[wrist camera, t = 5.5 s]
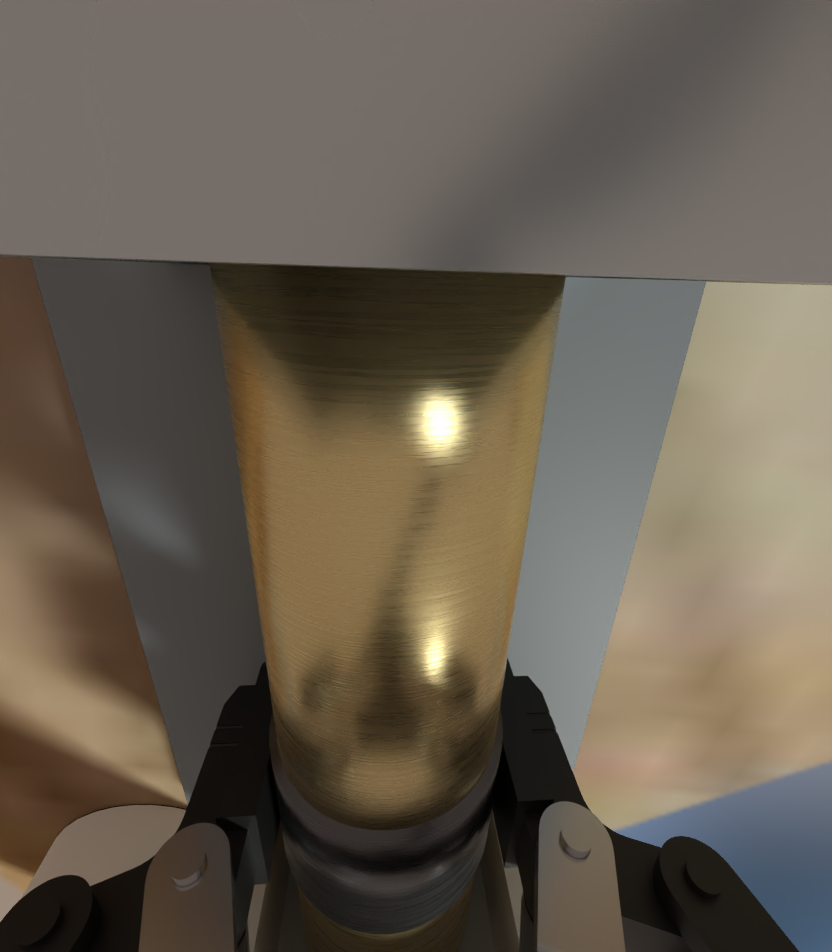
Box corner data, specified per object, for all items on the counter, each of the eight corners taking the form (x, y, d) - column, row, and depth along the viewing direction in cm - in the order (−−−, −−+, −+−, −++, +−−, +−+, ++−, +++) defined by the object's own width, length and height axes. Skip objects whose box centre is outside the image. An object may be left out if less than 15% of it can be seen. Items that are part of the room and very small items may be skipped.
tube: (232, 66, 7) (-22, -292, 2) (538, 86, 7) (776, -191, 3) (310, 803, 14) (280, 1033, 10) (458, 794, 14) (491, 1012, 10)
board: (-168, -772, 5) (-384, -1181, 3) (859, -566, 6) (1005, -825, 4) (216, 802, 16) (201, 851, 15) (543, 783, 17) (557, 828, 16)
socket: (254, 758, 13) (165, 1105, 8) (511, 745, 14) (598, 1058, 8) (268, 838, 15) (203, 1171, 9) (497, 823, 15) (562, 1128, 10)
